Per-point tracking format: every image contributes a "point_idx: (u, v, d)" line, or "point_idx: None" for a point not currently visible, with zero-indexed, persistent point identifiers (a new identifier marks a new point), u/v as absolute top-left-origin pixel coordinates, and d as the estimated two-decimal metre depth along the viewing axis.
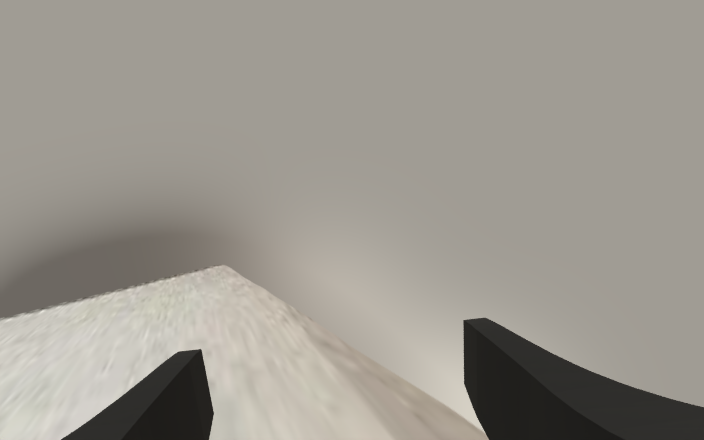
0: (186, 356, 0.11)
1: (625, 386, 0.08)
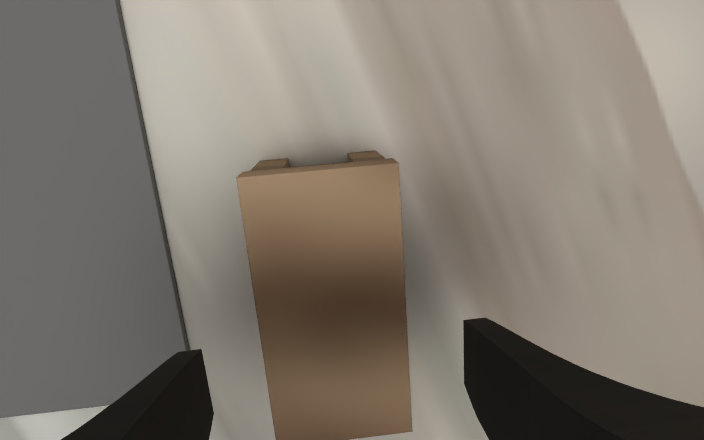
0: (186, 356, 0.11)
1: (625, 386, 0.08)
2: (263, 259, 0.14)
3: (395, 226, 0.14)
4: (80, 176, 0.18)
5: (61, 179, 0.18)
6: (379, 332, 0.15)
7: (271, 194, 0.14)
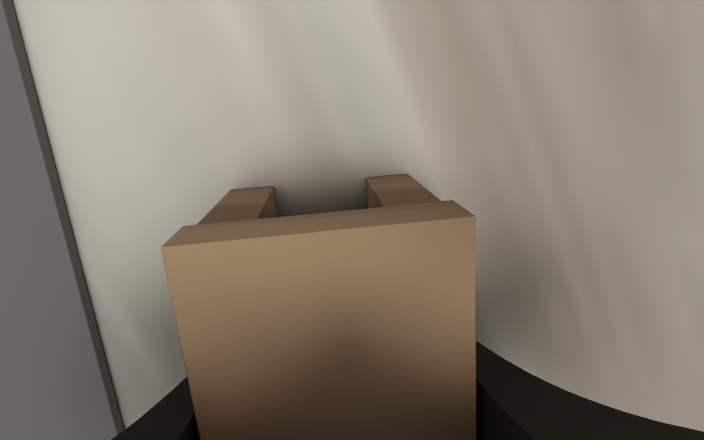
0: None
1: (567, 393, 0.08)
2: (218, 392, 0.08)
3: (463, 330, 0.08)
4: None
5: None
6: None
7: (230, 277, 0.07)
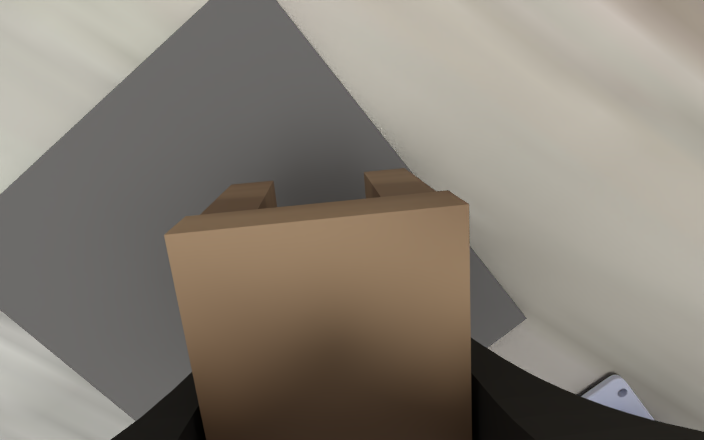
0: None
1: (567, 393, 0.08)
2: (220, 377, 0.08)
3: (459, 315, 0.08)
4: (344, 189, 0.19)
5: None
6: None
7: (231, 263, 0.07)
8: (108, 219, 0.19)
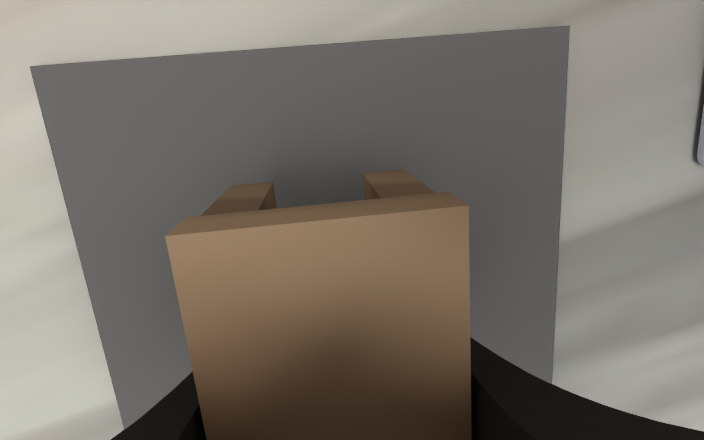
0: None
1: (567, 393, 0.08)
2: (221, 377, 0.08)
3: (458, 316, 0.08)
4: (293, 123, 0.17)
5: (297, 143, 0.17)
6: None
7: (232, 265, 0.07)
8: None
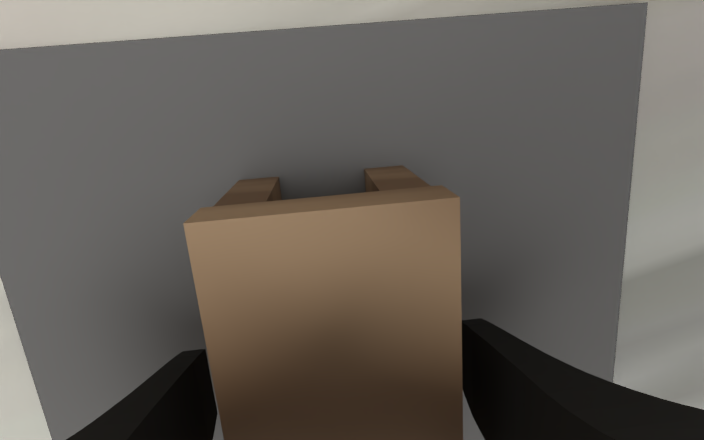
0: (190, 356, 0.11)
1: (619, 387, 0.08)
2: (232, 354, 0.09)
3: (451, 299, 0.09)
4: (285, 130, 0.13)
5: (291, 157, 0.13)
6: None
7: (244, 250, 0.08)
8: None
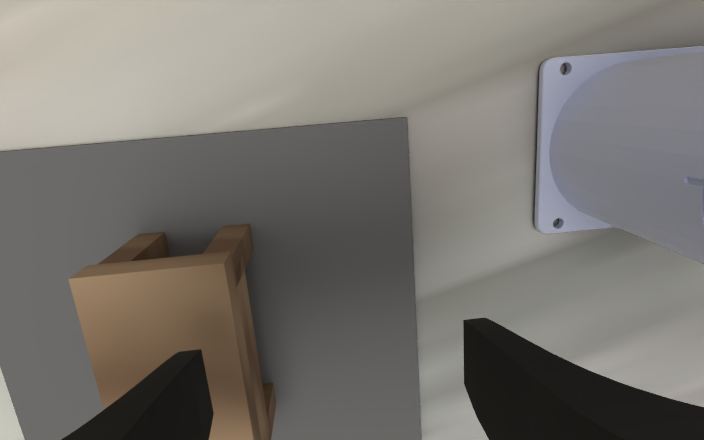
0: (186, 356, 0.11)
1: (625, 386, 0.08)
2: (102, 350, 0.15)
3: (227, 319, 0.15)
4: (167, 202, 0.19)
5: (172, 219, 0.20)
6: (222, 414, 0.16)
7: (103, 293, 0.14)
8: (84, 384, 0.21)
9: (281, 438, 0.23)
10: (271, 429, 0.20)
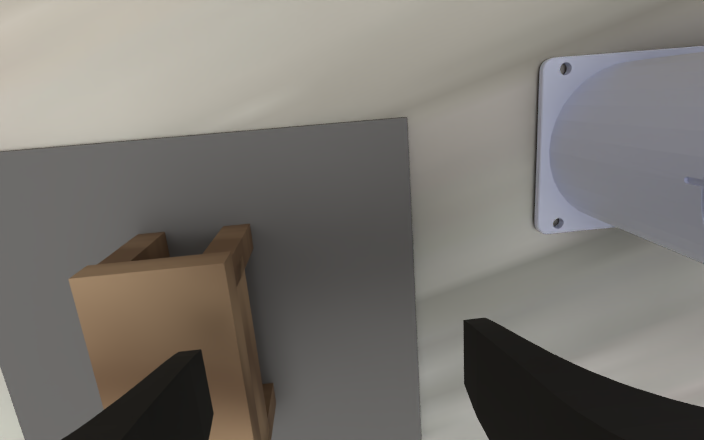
0: (186, 356, 0.11)
1: (625, 386, 0.08)
2: (102, 350, 0.15)
3: (227, 319, 0.15)
4: (167, 202, 0.19)
5: (172, 219, 0.20)
6: (222, 414, 0.16)
7: (103, 293, 0.14)
8: (84, 384, 0.21)
9: (281, 438, 0.23)
10: (271, 429, 0.20)
